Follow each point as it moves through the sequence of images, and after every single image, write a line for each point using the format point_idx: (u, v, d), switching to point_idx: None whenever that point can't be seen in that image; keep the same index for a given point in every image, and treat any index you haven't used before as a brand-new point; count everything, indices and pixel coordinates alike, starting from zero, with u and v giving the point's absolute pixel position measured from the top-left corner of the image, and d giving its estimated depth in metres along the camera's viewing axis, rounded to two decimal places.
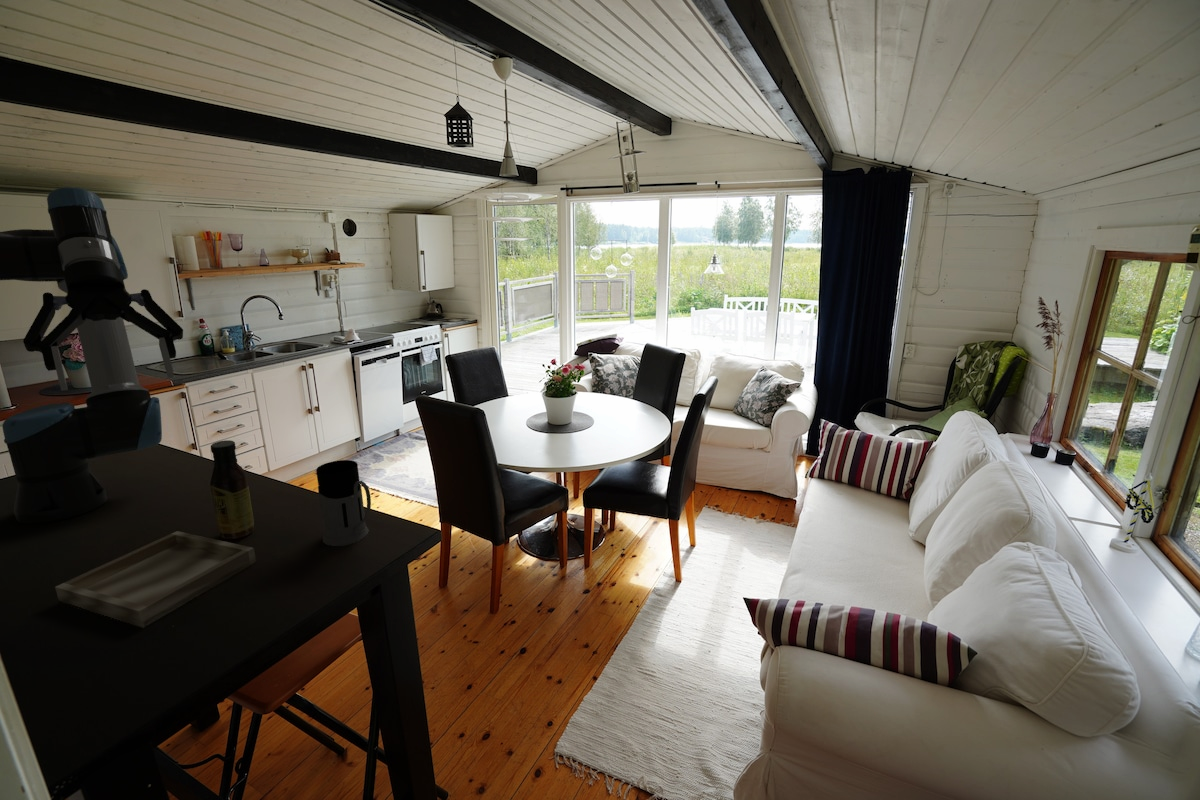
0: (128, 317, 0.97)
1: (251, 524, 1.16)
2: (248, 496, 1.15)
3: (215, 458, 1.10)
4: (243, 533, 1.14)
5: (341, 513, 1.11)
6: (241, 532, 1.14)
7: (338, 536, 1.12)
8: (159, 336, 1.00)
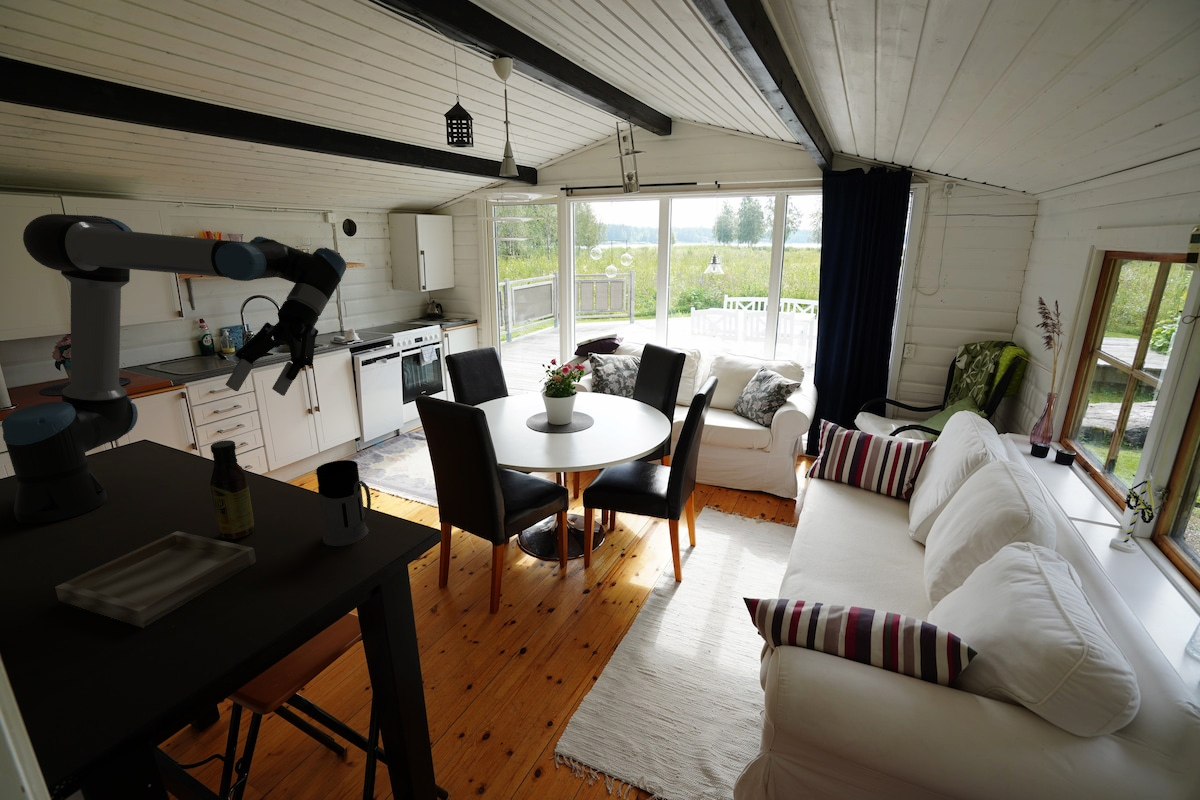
0: (271, 344, 1.24)
1: (251, 524, 1.16)
2: (248, 496, 1.15)
3: (215, 458, 1.10)
4: (243, 533, 1.14)
5: (341, 513, 1.11)
6: (241, 532, 1.14)
7: (338, 536, 1.12)
8: (248, 355, 1.22)
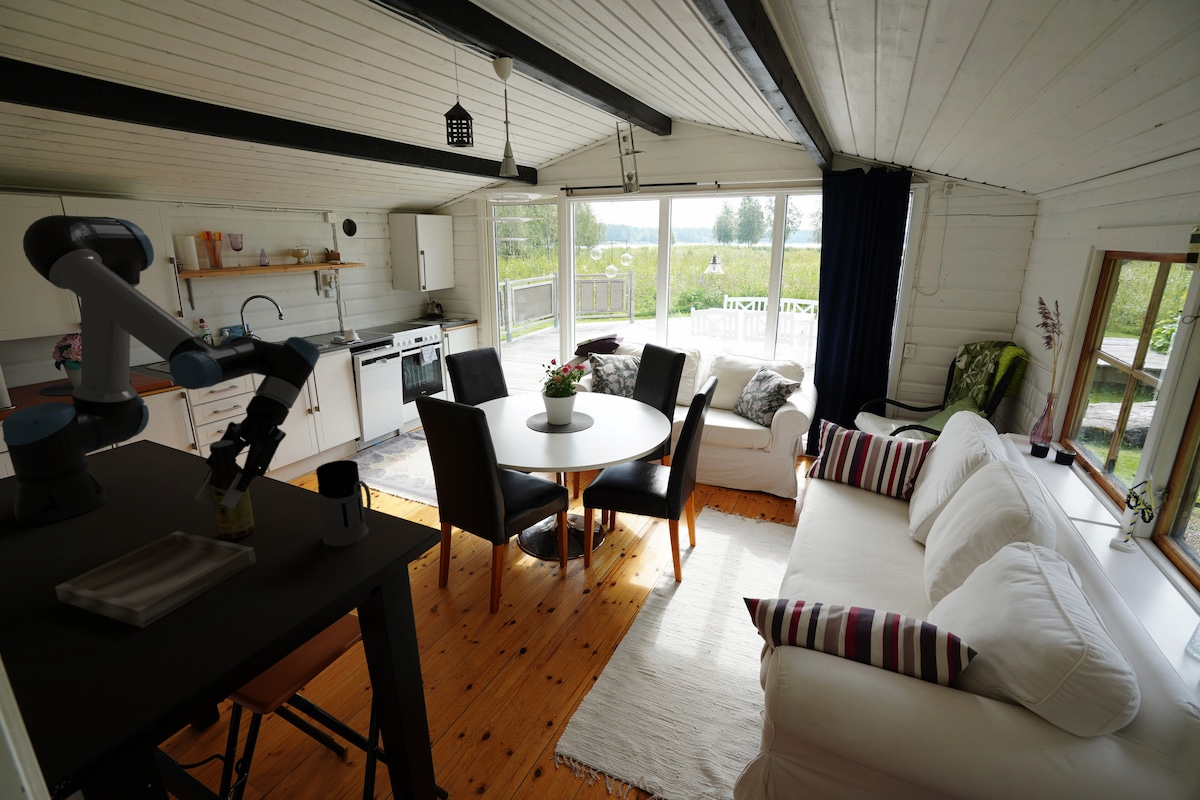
0: (242, 444, 1.18)
1: (251, 524, 1.16)
2: (247, 496, 1.15)
3: (214, 458, 1.10)
4: (243, 533, 1.14)
5: (341, 513, 1.11)
6: (241, 532, 1.14)
7: (338, 536, 1.12)
8: None
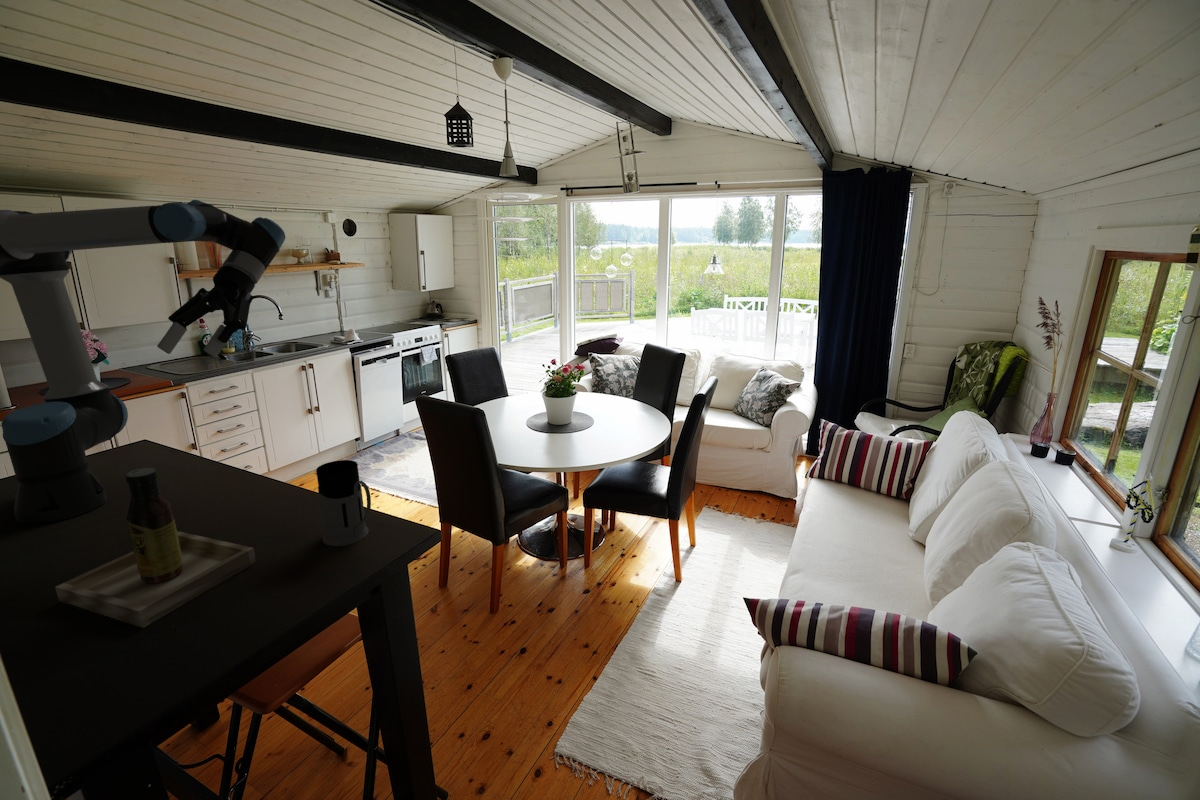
0: (206, 309, 1.26)
1: (178, 565, 0.99)
2: (174, 532, 0.98)
3: (131, 489, 0.93)
4: (167, 576, 0.98)
5: (341, 513, 1.11)
6: (165, 575, 0.98)
7: (338, 536, 1.12)
8: (181, 319, 1.24)
